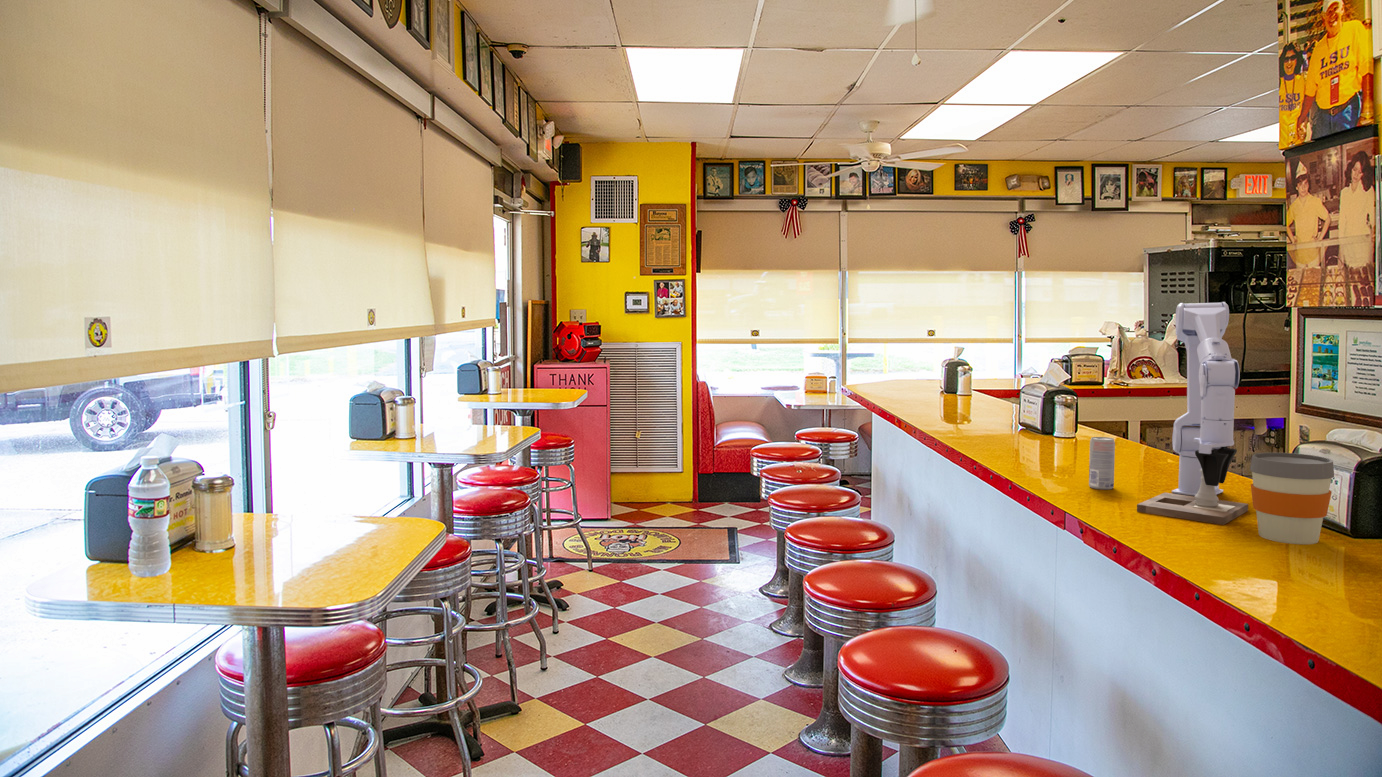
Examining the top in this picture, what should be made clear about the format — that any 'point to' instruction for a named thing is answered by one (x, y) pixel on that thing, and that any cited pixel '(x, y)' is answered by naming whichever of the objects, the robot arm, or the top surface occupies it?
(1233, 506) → the hole board
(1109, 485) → the energy drink
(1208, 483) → the robot arm
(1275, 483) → the reusable coffee cup
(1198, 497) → the rook chess piece
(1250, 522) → the top surface
